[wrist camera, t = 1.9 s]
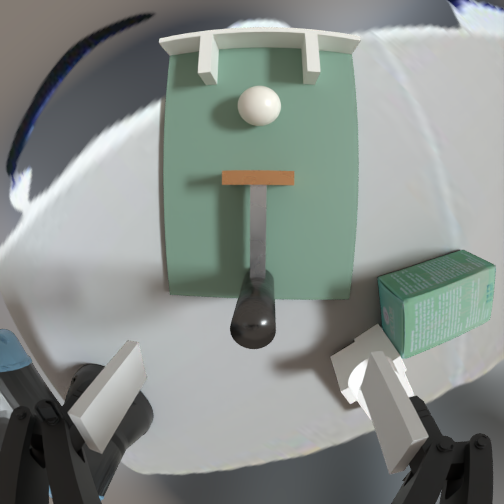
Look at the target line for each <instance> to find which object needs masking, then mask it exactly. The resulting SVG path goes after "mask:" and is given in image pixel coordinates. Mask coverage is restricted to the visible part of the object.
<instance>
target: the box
mask: <svg viewBox="0 0 504 504" xmlns="http://www.w3.org/2000/svg"><path fill="white" fill-rule="evenodd" d="M495 272H496V267H495V265H494V264H492V263H490V262H488V261H486V260H484V259H482V258H479V257H477V256H475V255H473V254H471V253H469V252H467V251H465V250H460V251H457V252H454V253H451V254H448V255H444V256H441V257H438V258H435V259H432V260H429V261H426V262H423V263H420V264H417V265H414V266H411V267H408V268H405V269H402V270H399V271H396V272H393V273H389V274H386V275H383V276H379V277H378V287H379V296H380V306H381V320H382V329H383V331H384V333H385V334H386V336H387V337H388V338H389V340H390V341H391V343H392V344H393V346H394V347H395V349H396V350H397V352H398V353H399V355H400V356H401V358H409V357H411V356H414V355H416V354H419V353H421V352H423V351H426V350H428V349H430V348H433V347H435V346H437V345H440V344H442V343H444V342H447V341H449V340H451V339H453V338H455V337H457V336H460V335H462V334H464V333H466V332H468V331H470V330H472V329H474V328H476V327H478V326H480V325H482V324H484V323H485V322H487V321H489V320H490V316H491V310H492V302H493V294H494V284H495Z"/></svg>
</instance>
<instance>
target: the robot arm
mask: <svg viewBox="0 0 504 504" xmlns="http://www.w3.org/2000/svg"><path fill="white" fill-rule="evenodd" d="M146 379H147V374H146V371H145V367H144V363H143V358H142V354H141V350H140V345H139V342H134V341H127V342H126V343H125V344H124V345H123V347H122V348H121V349H120V350H119V351H118V352H117V354H116V355H115V356H114V357H113V358H112V359H111V361H110V362H109V363H108V364H107V365H106V366H105V367H103V366H100V365H93V364H92V365H85V366H83V367H82V368H81V369H80V370H79V371H78V372H77V373H76V374H75V375H74V377H73V378H72V381H71V386H70V388H69V390H68V393H67V396H66V399H65V403H64V405H63V406H61V405H60V403H59V402H58V401H57V399H56V398H55V397H54V395H53V394H52V392H51V391H50V390H49V388H48V387H47V385H46V384H45V382H44V381H43V379H42V378H41V376H40V374H39V373H38V371H37V370H36V368H35V367H34V365H33V363H32V360H31V358H30V357H29V356H28V355H27V354H26V352H25V350H24V349H23V347H22V345H21V344H20V342H19V340H18V339H17V337H16V336H15V334H14V333H12V332H11V331H9V330H7V329H0V504H49V496H50V497H51V498H52V499H53V503H54V504H102V503H101V500H102V499H104V495H105V493H106V491H107V489H108V486H109V484H110V482H111V480H112V478H113V476H114V474H115V471H116V469H117V467H118V465H119V463H120V461H121V459H122V457H123V455H124V453H125V451H126V449H127V448H128V447H130V446H131V445H132V444H133V443H135V442H136V441H137V440H138V439H139V438H140V437H141V436H142V435H144V434H145V433H146V432H147V431H148V429H149V427H150V425H151V423H152V421H153V410H152V407H151V405H150V403H149V402H148V400H147V399H146V397H145V396H144V395H143V393H142V392H141V391H140V389H141V388H142V386H143V384H144V383H145V381H146ZM361 391H362V394H363V397H364V399H365V402H366V405H367V408H368V410H369V413H370V416H371V419H372V422H373V425H374V428H375V431H376V434H377V437H378V440H379V443H380V446H381V448H382V452H383V455H384V458H385V462H386V465H387V468H388V471H389V474H393V473H397V472H401V471H404V470H405V469H406V467H407V466H408V465H410V468H411V471H410V472H409V473H408V474H407V476H406V477H405V478H404V479H403V481H404V483H403V485H402V486H401V488H400V490H399V492H398V493H397V495H396V497H395V498H394V500H393V502H392V503H391V504H435V503H436V501H437V499H438V497H439V494H440V492H441V490H442V492H441V498H440V504H492V499H493V460H492V447H491V441H490V439H489V437H488V436H486V435H485V434H481V433H479V434H476V435H474V436H472V438H471V439H470V441H467V442H454V441H453V440H452V438H450V437H448V436H443V435H442V434H441V432H440V430H439V428H438V426H437V424H436V423H435V421H434V419H433V417H432V416H431V414H430V412H429V410H427V407H426V405H425V403H424V401H423V400H421V399H420V398H419V397H418V396H413V397H408V395H407V393H406V391H405V390H404V388H403V386H402V384H401V382H400V381H399V379H398V377H397V375H396V373H395V372H394V370H393V368H392V366H391V365H390V363H389V361H388V359H387V358H386V356H385V354H384V352H383V351H377V352H370V356H369V360H368V364H367V367H366V371H365V374H364V378H363V381H362V385H361Z"/></svg>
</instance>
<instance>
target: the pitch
mask: <svg viewBox="0 0 504 504" xmlns="http://www.w3.org/2000/svg"><path fill="white" fill-rule="evenodd" d="M360 41H361V40H360V36H355V35H350V34H344V33H337V32H329V31H322V30H312V29H299V28H278V27H253V28H231V29H219V30H209V31H201V32H194V33H187V34H181V35H175V36H170V37H165V38H160V39H159V44H160V45H161V46H162V47H163V48H164V50H165V51H166V52H167V53H168V54H169V55H170V59H169V68H168V79H167V91H166V105H165V124H164V160H163V185H164V222H165V241H166V257H167V270H168V281H169V291H170V295H184V296H201V297H222V298H238V297H239V293H240V290H241V286H242V283H243V279H244V276H245V274H246V273H247V272H248V271H249V270H250V185H222V171H228V170H273V171H294V185H292V186H288V185H267V211H266V270H268V271H269V272H270V273H271V274H272V276H273V278H274V292H275V299H301V300H330V299H349V296H350V288H351V280H352V272H353V262H354V252H355V240H356V225H357V207H358V165H359V162H358V120H357V103H356V90H355V79H354V69H353V60H352V53H353V52H354V50H355V49H356V47H357V46H358V44H359V43H360ZM253 86H265V87H268V88H270V89H272V90H273V91H274V92H275V93H276V94H277V95H278V97H279V99H280V102H281V110H280V113H279V115H278V117H277V118H276V119H275V120H274V121H273V122H272V123H270V124H268V125H265V126H255V125H251V124H249V123H247V122H246V121H244V120H243V119H242V117H241V116H240V114H239V111H238V100H239V98H240V96H241V94H242V93H243V92H244V91H245V90H247V89H248V88H250V87H253Z"/></svg>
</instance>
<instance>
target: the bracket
mask: <svg viewBox="0 0 504 504" xmlns="http://www.w3.org/2000/svg"><path fill="white" fill-rule="evenodd" d="M354 340H355V342H354V343H352V344H351V345H349V346H347V347H346V348H344V349H342V350H341V351H339V352H337V353H336V354H334V355H332V356H330V358H331V361H332V364H333V367H334V371H335V374H336V377H337V381H338V384H339V387H340V391H341V393H342V394H343V395H344V397H345V398H346V399H347V400H348V402H349V403H350V404H351V403H353V402H355V401H358V403H359V404H360V406H361V407H362V408H363V410H364V411H365V412H366V414H367V415H368V417H369V418H370V419H371V416H370V413H369V410H368V408H367V405H366V402H365V399H364V397H363V394H362V391H361V385H362V381H363V378H364V374H365V371H366V367H367V364H368V360H369V356H370V352H377V351H383V352H384V354H385V356H386V358H387V359H388V361H389V363H390V365H391V366H392V368H393V370H394V372H395V373H396V375H397V377H398V379H399V381H400V382H401V384H402V386H403V388H404V390H405V391H406V393H407V395H408V397H412V396H413V395H414V393H413V390H412V388H411V386H410V384H409V381H408V379H407V377H406V375H405V371H407V369H406V367H405V365H404V363H403V360H402V358H401V356H400V355H399V353H398V352H397V350H396V349H395V347H394V346H393V344H392V343H391V341H390V340H389V338H388V337H387V336H386V334H385V333H384V331H383V330H382V328H381V327H380V326H379V324H376V325H375V326H373V327H372V328H370V329H369V330H367V331H366V332H364V333H363V334H361V335H359V336H358V337H356V338H355V339H354ZM371 420H372V419H371Z"/></svg>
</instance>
